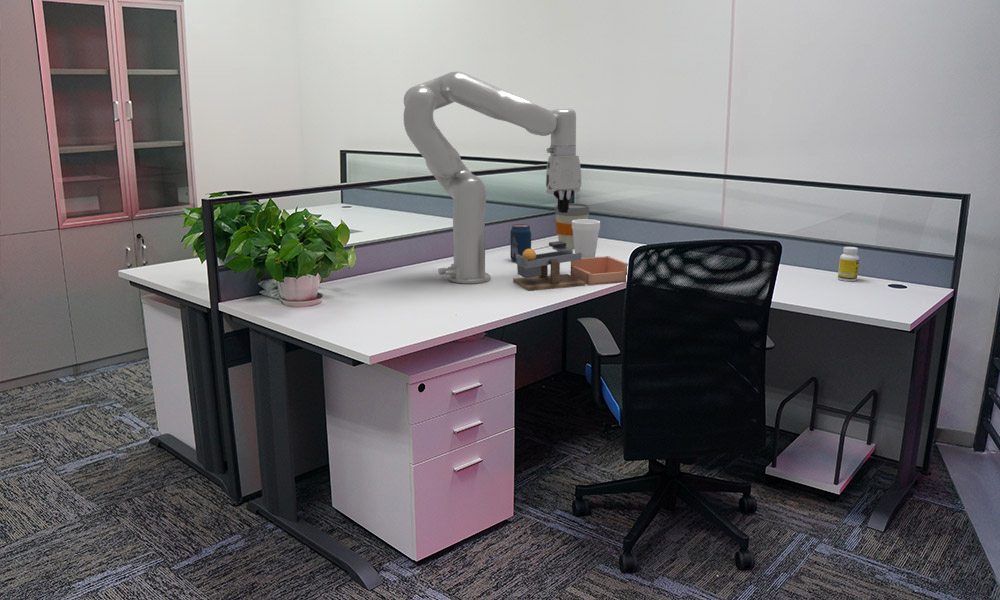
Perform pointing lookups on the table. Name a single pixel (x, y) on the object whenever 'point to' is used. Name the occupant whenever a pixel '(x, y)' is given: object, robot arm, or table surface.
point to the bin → (599, 270)
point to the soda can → (519, 240)
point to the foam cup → (585, 236)
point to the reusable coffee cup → (569, 222)
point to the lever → (545, 259)
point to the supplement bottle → (848, 264)
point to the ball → (529, 254)
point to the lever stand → (549, 279)
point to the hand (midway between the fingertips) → (563, 212)
